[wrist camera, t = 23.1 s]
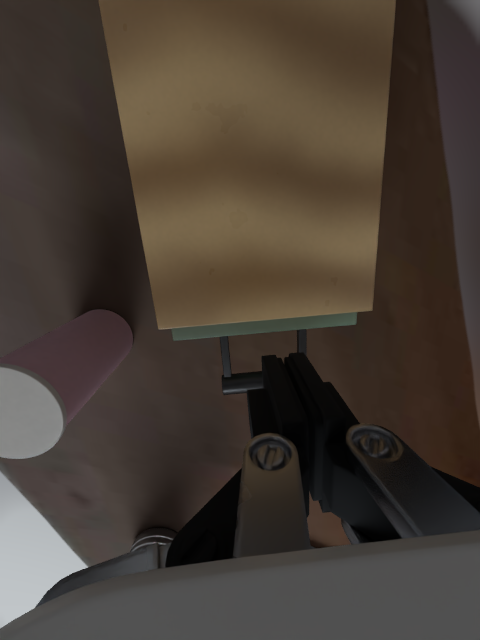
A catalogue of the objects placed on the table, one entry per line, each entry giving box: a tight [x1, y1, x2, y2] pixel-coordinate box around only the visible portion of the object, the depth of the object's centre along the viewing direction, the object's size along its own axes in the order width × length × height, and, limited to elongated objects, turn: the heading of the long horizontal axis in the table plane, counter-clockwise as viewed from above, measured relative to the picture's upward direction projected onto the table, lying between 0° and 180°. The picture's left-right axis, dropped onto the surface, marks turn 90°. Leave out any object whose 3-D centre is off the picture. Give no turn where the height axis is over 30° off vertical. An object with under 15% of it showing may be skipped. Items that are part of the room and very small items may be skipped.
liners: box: [0, 309, 133, 459], centre depth 20 cm, size 6×6×12 cm
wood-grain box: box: [98, 0, 396, 329], centre depth 19 cm, size 17×14×9 cm
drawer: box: [171, 312, 357, 395], centre depth 20 cm, size 21×13×7 cm, turn 4°
